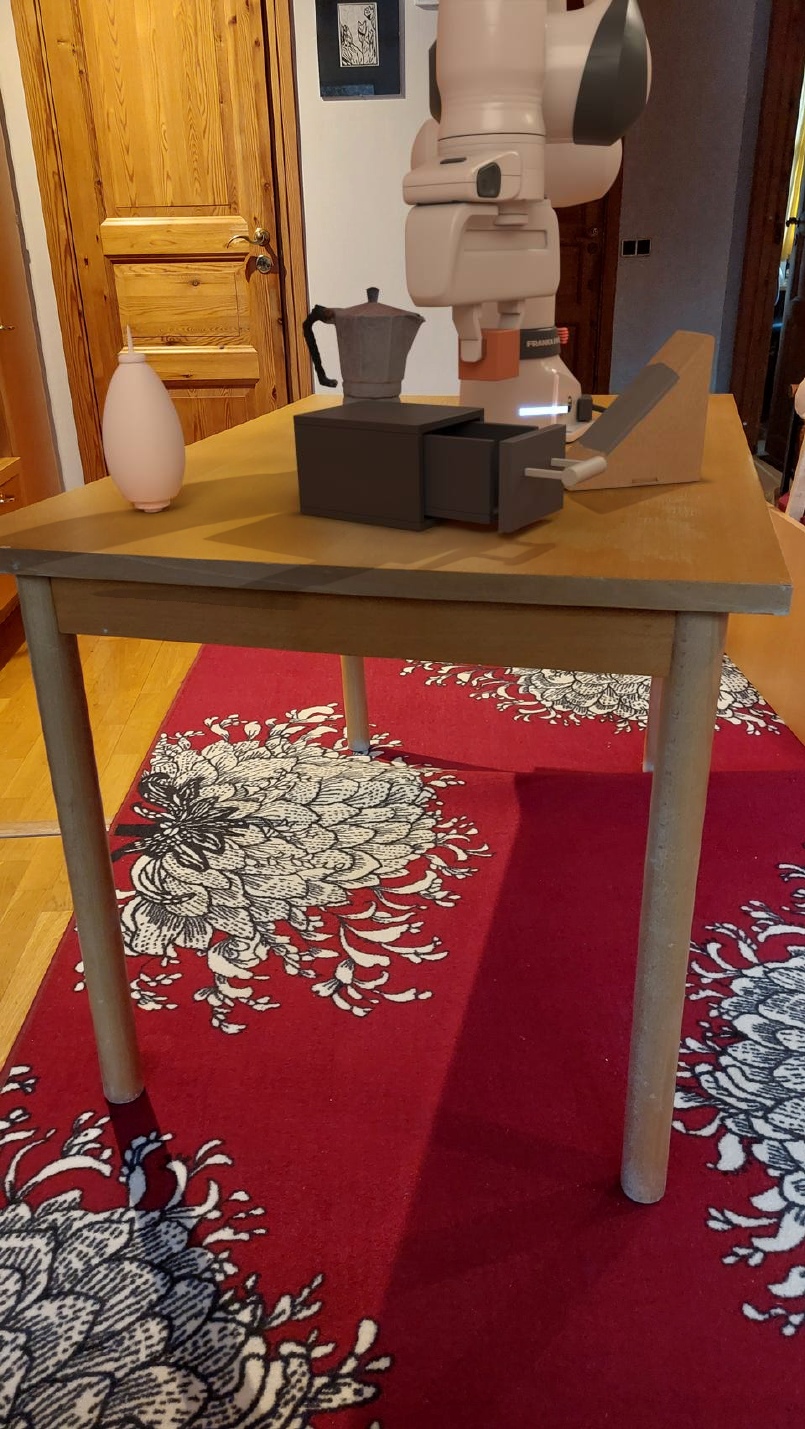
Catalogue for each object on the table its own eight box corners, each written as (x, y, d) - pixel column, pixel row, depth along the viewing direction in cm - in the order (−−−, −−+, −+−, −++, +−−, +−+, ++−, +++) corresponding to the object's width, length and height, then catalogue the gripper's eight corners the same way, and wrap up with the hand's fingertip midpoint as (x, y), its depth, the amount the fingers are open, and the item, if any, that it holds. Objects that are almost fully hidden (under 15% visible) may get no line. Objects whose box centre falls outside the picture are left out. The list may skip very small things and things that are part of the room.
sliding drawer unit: (614, 514, 91) (619, 428, 88) (563, 540, 83) (567, 447, 80) (444, 493, 101) (443, 415, 98) (385, 515, 93) (382, 431, 90)
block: (481, 375, 90) (481, 328, 88) (519, 376, 88) (520, 329, 86) (457, 379, 87) (457, 331, 85) (497, 381, 85) (497, 332, 83)
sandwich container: (541, 475, 112) (545, 335, 105) (666, 466, 114) (677, 329, 108) (567, 491, 104) (574, 341, 98) (701, 481, 107) (715, 334, 100)
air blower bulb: (100, 518, 100) (69, 328, 92) (138, 500, 106) (112, 322, 99) (169, 521, 98) (143, 327, 90) (204, 503, 104) (183, 321, 97)
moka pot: (421, 468, 118) (417, 287, 109) (298, 467, 121) (285, 290, 112) (435, 453, 126) (432, 284, 117) (319, 452, 129) (309, 287, 120)
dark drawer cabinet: (483, 506, 99) (484, 408, 95) (420, 531, 91) (417, 425, 87) (368, 491, 107) (364, 400, 103) (300, 513, 99) (292, 415, 95)
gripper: (518, 188, 90) (515, 347, 96) (388, 178, 75) (394, 368, 81) (580, 183, 87) (573, 349, 93) (458, 172, 72) (459, 371, 78)
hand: (489, 358), depth 87 cm, fingers closed on block, 4 cm apart
